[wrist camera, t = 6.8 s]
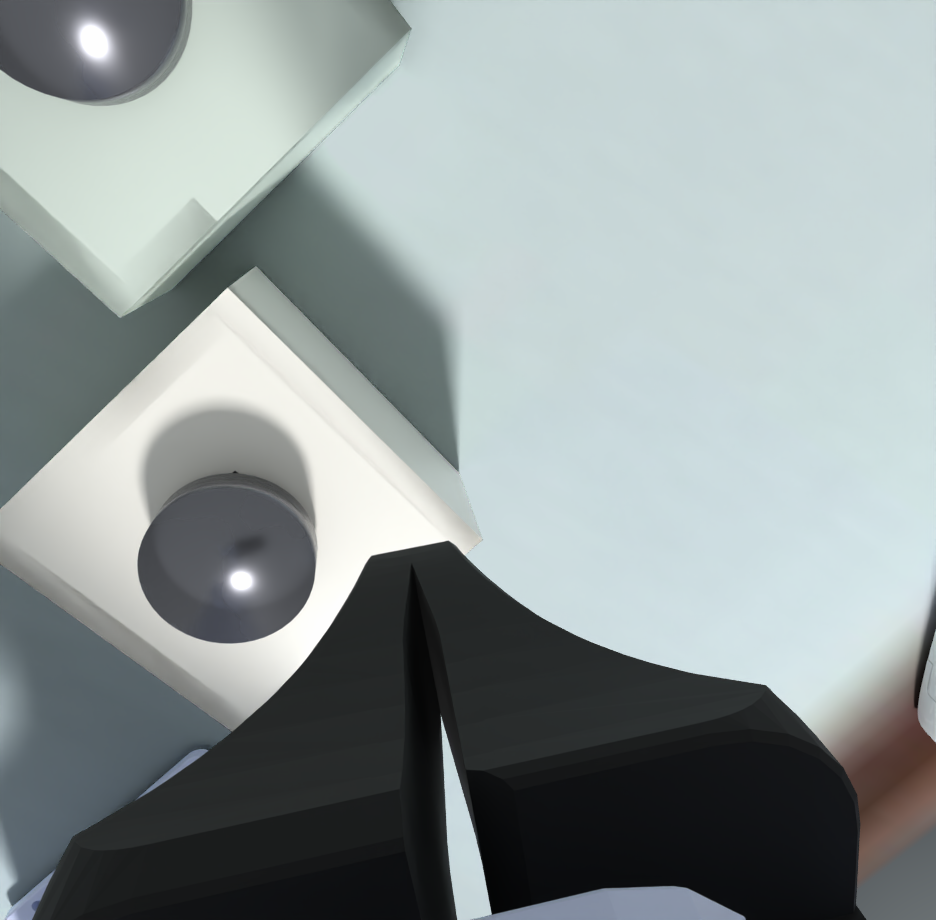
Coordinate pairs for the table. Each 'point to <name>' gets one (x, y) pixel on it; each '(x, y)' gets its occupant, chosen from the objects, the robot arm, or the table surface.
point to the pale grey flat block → (189, 139)
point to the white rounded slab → (929, 695)
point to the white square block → (224, 451)
